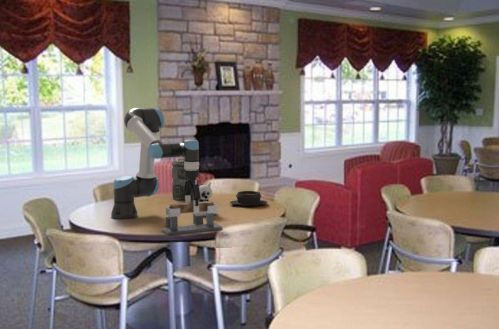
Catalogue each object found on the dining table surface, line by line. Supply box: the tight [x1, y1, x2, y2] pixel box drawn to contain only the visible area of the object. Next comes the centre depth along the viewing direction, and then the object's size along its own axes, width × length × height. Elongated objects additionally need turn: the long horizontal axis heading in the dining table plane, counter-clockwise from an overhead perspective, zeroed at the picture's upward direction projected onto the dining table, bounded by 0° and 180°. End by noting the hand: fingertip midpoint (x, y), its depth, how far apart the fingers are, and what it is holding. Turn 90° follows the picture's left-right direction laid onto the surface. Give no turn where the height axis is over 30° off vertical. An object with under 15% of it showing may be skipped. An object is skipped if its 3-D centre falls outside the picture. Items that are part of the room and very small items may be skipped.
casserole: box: [229, 190, 268, 207], centre depth 353 cm, size 25×19×8 cm
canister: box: [171, 158, 194, 201], centre depth 377 cm, size 16×16×28 cm
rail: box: [169, 200, 214, 215], centre depth 282 cm, size 22×4×4 cm, turn 115°
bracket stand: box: [161, 202, 223, 236], centre depth 282 cm, size 30×10×13 cm, turn 115°
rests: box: [164, 214, 204, 228], centre depth 294 cm, size 20×5×5 cm, turn 115°
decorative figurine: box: [192, 181, 216, 217], centre depth 323 cm, size 15×15×20 cm
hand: (192, 209), depth 282 cm, fingers open, 13 cm apart
